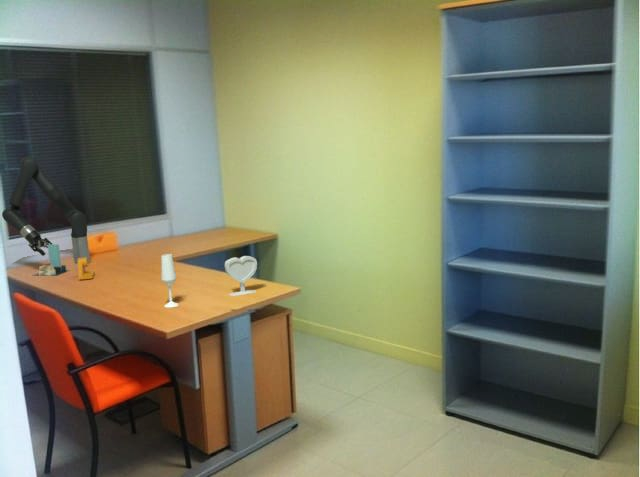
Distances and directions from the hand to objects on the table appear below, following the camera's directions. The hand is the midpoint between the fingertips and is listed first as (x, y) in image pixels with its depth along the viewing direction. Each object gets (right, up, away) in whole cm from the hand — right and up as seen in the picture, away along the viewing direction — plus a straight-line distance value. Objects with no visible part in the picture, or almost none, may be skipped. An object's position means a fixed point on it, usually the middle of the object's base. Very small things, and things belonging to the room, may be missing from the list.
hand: (49, 253), depth 363 cm
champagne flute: (+91, -23, -76) cm, 120 cm away
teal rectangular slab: (+4, -11, +1) cm, 11 cm away
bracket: (+28, -14, -14) cm, 34 cm away
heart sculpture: (+122, -18, -60) cm, 137 cm away
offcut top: (+2, -10, -7) cm, 12 cm away
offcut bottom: (+2, -12, -6) cm, 14 cm away
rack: (+3, -13, -3) cm, 13 cm away
